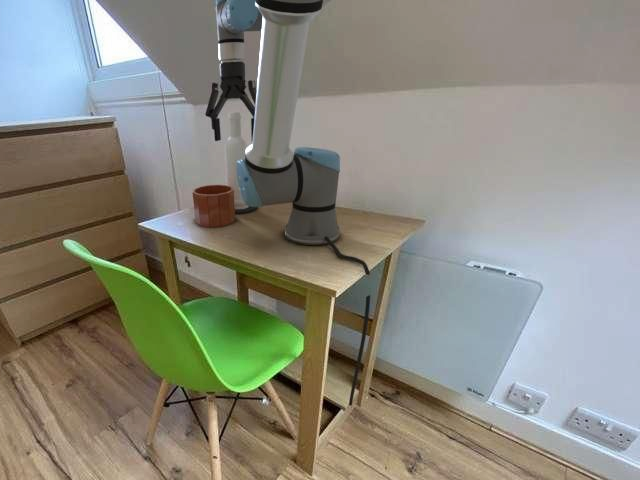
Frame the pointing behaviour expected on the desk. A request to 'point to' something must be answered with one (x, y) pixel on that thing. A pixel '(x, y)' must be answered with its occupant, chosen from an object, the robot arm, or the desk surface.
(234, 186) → the bottle
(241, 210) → the coaster
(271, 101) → the robot arm
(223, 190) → the reddish brown pot
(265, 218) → the desk surface
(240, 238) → the desk surface
